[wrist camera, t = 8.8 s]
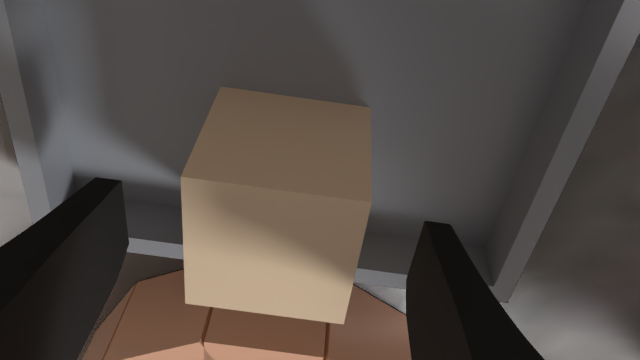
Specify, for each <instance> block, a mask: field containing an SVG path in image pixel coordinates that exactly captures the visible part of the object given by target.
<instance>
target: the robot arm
mask: <svg viewBox="0 0 640 360" xmlns="http://www.w3.org/2000/svg"><path fill="white" fill-rule="evenodd" d="M128 246H129V238H128V229H127V221H126V213H125V204H124V196H123V187H122V180H114V179H106V178H99V177H95V178H94V179H93V180H91V181H90V182H89V183H87V184H86V185H85V186H83V187H82V188H81V189H79V190H78V191H77V192H75V193H74V194H73V195H71V196H70V197H69V198H68V199H66V200H65V201H64V202H62V203H61V204H60V205H59V206H57V207H56V208H55V209H53V210H52V211H51V212H49V213H48V214H47V215H45V216H44V217H43V218H41V219H40V220H39V221H37V222H36V223H34V224H33V225H32V226H30V227H29V228H28V229H26V230H25V231H24V232H22V233H21V234H19V235H18V236H16V237H15V238H13V239H12V240H10V241H9V242H7V243H6V244H4V245H3V246H1V247H0V360H76V359H77V358H78V356H79V354H80V352H81V350H82V348H83V346H84V344H85V342H86V340H87V338H88V336H89V334H90V332H91V330H92V328H93V326H94V324H95V322H96V320H97V318H98V316H99V314H100V312H101V311H102V309H103V307H104V305H105V303H106V301H107V299H108V297H109V295H110V293H111V291H112V289H113V287H114V284H115V282H116V280H117V277H118V275H119V272H120V269H121V266H122V264H123V261H124V258H125V255H126V252H127V249H128ZM406 320H407V328H408V336H409V344H410V352H411V359H412V360H544V359H543V357H542V356H541V355H540V354H539V353H538V352H537V351H536V349H535V348H534V347H533V346H532V345H531V344H530V343H529V341H528V340H527V339H526V338H525V337H524V335H523V334H522V333H521V331H520V330H519V329H518V328H517V326H516V325H515V324H514V322H513V321H512V320H511V318H510V317H509V316H508V314H507V313H506V312H505V310H504V309H503V307H502V306H501V304H500V303H499V302H498V300H497V299H496V297H495V296H494V294H493V293H492V291H491V290H490V288H489V287H488V285H487V284H486V282H485V281H484V279H483V278H482V276H481V275H480V273H479V271H478V270H477V268H476V267H475V265H474V263H473V262H472V260H471V258H470V257H469V255H468V253H467V252H466V250H465V248H464V246H463V245H462V243H461V241H460V240H459V238H458V236H457V234H456V233H455V231H454V229H453V228H452V226H451V225H450V224H446V223H438V222H431V221H424V224H423V227H422V231H421V234H420V237H419V240H418V243H417V247H416V250H415V253H414V256H413V259H412V263H411V266H410V269H409V272H408V275H407V279H406Z"/></svg>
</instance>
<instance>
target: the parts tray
mask: <svg viewBox="0 0 640 360" xmlns="http://www.w3.org/2000/svg"><path fill="white" fill-rule="evenodd" d="M639 34H640V0H0V94H1V98H2V102H3V106H4V110H5V114H6V118H7V122H8V126H9V130H10V134H11V138H12V142H13V146H14V150H15V154H16V158H17V162H18V166H19V170H20V174H21V178H22V181H23V185H24V189H25V193H26V197H27V201H28V205H29V209H30V213H31V217H32V221H33V224H34V223H36V222H37V221H39V220H40V219H41V218H43V217H44V216H45V215H47V214H48V213H49V212H51V211H52V210H53V209H55V208H56V207H57V206H59V205H60V204H61V203H62V202H64V201H65V200H66V199H68V198H69V197H70V196H71V195H73V194H74V193H75V192H77V191H78V190H79V189H81V188H82V187H83V186H85V185H86V184H87V183H89V182H90V181H91V180H93V179H94V178H95V177H99V178H106V179H114V180H122V187H123V196H124V204H125V213H126V221H127V229H128V238H129V246H128V249H127V252H131V253H138V254H146V255H153V256H161V257H168V258H176V259H183V260H184V254H183V227H182V200H181V175H182V172H183V170H184V168H185V166H186V163H187V161H188V159H189V157H190V154H191V152H192V150H193V148H194V145H195V143H196V141H197V139H198V136H199V134H200V132H201V130H202V127H203V125H204V123H205V121H206V118H207V116H208V114H209V112H210V109H211V107H212V105H213V103H214V100H215V98H216V96H217V94H218V91H219V89H220V87H228V88H235V89H242V90H249V91H256V92H264V93H271V94H278V95H285V96H292V97H299V98H306V99H313V100H321V101H328V102H335V103H342V104H349V105H356V106H363V107H371V178H372V204H371V208H370V213H369V217H368V221H367V226H366V230H365V234H364V239H363V243H362V247H361V252H360V256H359V260H358V265H357V269H356V274H355V278H354V282H355V283H363V284H370V285H378V286H385V287H393V288H400V289H406V279H407V275H408V272H409V269H410V266H411V263H412V259H413V256H414V253H415V250H416V247H417V243H418V240H419V237H420V234H421V231H422V227H423V224H424V221H431V222H438V223H446V224H450V225H451V226H452V228H453V229H454V231H455V233H456V234H457V236H458V238H459V240H460V241H461V243H462V245H463V246H464V248H465V250H466V252H467V253H468V255H469V257H470V258H471V260H472V262H473V263H474V265H475V267H476V268H477V270H478V271H479V273H480V275H481V276H482V278H483V279H484V281H485V282H486V284H487V285H488V287H489V288H490V290H491V291H492V293H493V294H494V296H495V297H496V299H497V300H498V302H505V303H508V301H509V299H510V297H511V295H512V293H513V291H514V289H515V287H516V285H517V283H518V281H519V278H520V276H521V274H522V272H523V270H524V268H525V266H526V264H527V262H528V260H529V258H530V256H531V254H532V252H533V250H534V248H535V246H536V244H537V242H538V240H539V238H540V236H541V234H542V232H543V229H544V227H545V225H546V223H547V221H548V219H549V217H550V215H551V213H552V211H553V209H554V207H555V205H556V203H557V201H558V199H559V197H560V195H561V193H562V191H563V189H564V187H565V185H566V183H567V180H568V178H569V176H570V174H571V172H572V170H573V168H574V166H575V164H576V162H577V160H578V158H579V156H580V154H581V152H582V150H583V148H584V146H585V144H586V142H587V140H588V138H589V136H590V134H591V132H592V129H593V127H594V125H595V123H596V121H597V119H598V117H599V115H600V113H601V111H602V109H603V107H604V105H605V103H606V101H607V99H608V97H609V95H610V93H611V91H612V89H613V87H614V85H615V83H616V80H617V78H618V76H619V74H620V72H621V70H622V68H623V66H624V64H625V62H626V60H627V58H628V56H629V54H630V52H631V50H632V48H633V46H634V44H635V42H636V40H637V38H638V36H639Z"/></svg>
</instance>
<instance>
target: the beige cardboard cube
mask: <svg viewBox="0 0 640 360" xmlns="http://www.w3.org/2000/svg"><path fill="white" fill-rule="evenodd" d="M181 200H182V227H183V254H184V282H185V304H192V305H200V306H208V307H215V308H223V309H230V310H238V311H245V312H253V313H261V314H268V315H276V316H283V317H291V318H298V319H306V320H314V321H321V322H329V323H336V324H344V321H345V317H346V313H347V308H348V304H349V300H350V295H351V291H352V287H353V282H354V278H355V274H356V269H357V265H358V260H359V256H360V252H361V247H362V243H363V239H364V234H365V230H366V226H367V221H368V217H369V213H370V208H371V204H372V178H371V107H363V106H356V105H349V104H342V103H335V102H328V101H321V100H313V99H306V98H299V97H292V96H285V95H278V94H271V93H264V92H256V91H249V90H242V89H235V88H228V87H220V89H219V91H218V94H217V96H216V98H215V100H214V103H213V105H212V107H211V109H210V112H209V114H208V116H207V118H206V121H205V123H204V125H203V127H202V130H201V132H200V134H199V136H198V139H197V141H196V143H195V145H194V148H193V150H192V152H191V154H190V157H189V159H188V161H187V163H186V166H185V168H184V170H183V172H182V175H181Z"/></svg>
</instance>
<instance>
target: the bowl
mask: <svg viewBox="0 0 640 360" xmlns="http://www.w3.org/2000/svg"><path fill="white" fill-rule="evenodd" d="M83 360H412V359H411V352H410V344H409V336H408V328H407V320H406V315H404V314H403V313H401V312H399V311H397V310H396V309H394V308H392V307H391V306H389V305H387V304H385V303H384V302H382V301H380V300H378V299H377V298H375V297H373V296H372V295H370V294H368V293H366V292H365V291H363V290H361V289H360V288H358V287H356V286H354V285H353V287H352V291H351V295H350V300H349V304H348V308H347V313H346V317H345V321H344V324H336V323H329V322H321V321H314V320H306V319H298V318H291V317H283V316H276V315H268V314H261V313H253V312H245V311H238V310H230V309H223V308H215V307H208V306H200V305H192V304H185V282H184V269H183V270H180V271H176V272H172V273H169V274H165V275H161V276H158V277H154V278H150V279H147V280H143V281H139V282H137V284H134V285H133V287H132V288H131V289H130V290H129V291H128V293H127V294H126V295H125V296H124V297H123V299H122V300H121V301H120V302H119V303H118V305H117V306H116V307H115V308H114V310H113V311H112V312H111V313H110V314H109V316H108V317H107V318H106V319H105V320H104V322H103V323H102V324H101V325H100V326H99V328H98V329H97V330H96V332H95V334H94V336H93V338H92V340H91V343H90V345H89V347H88V349H87V351H86V353H85V355H84V357H83Z"/></svg>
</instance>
